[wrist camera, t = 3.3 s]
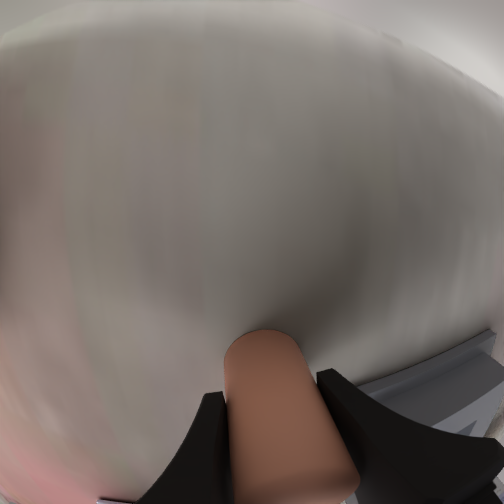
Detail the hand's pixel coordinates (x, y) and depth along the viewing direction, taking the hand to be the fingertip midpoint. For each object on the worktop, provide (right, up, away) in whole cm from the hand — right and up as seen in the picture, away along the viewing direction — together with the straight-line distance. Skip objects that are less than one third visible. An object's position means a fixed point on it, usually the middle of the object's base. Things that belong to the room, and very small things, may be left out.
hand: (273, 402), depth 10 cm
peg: (0, +1, +3) cm, 3 cm away
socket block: (+10, -6, +5) cm, 13 cm away
